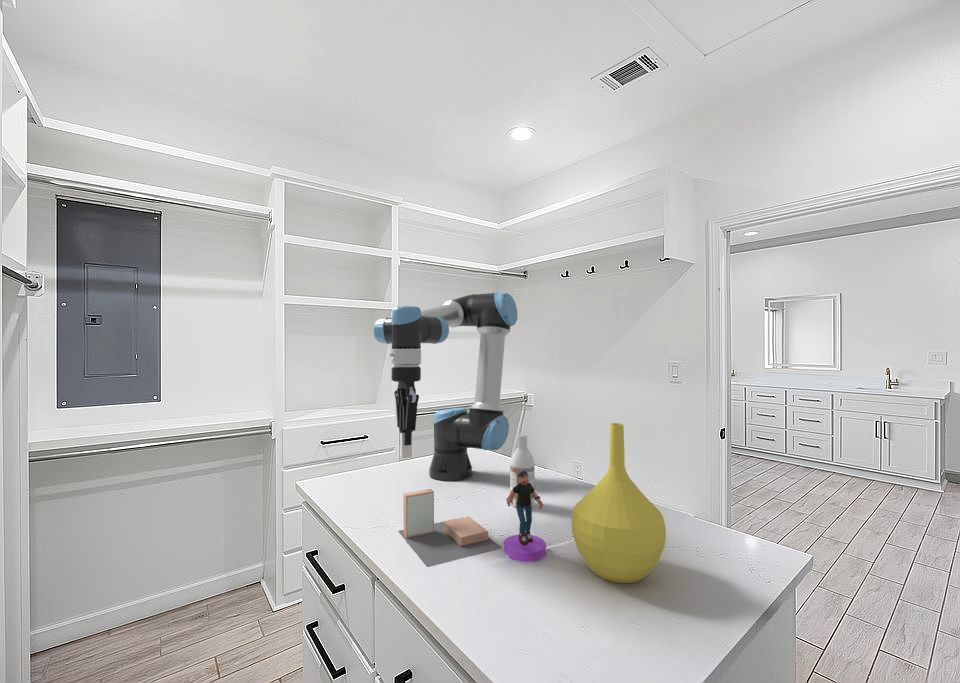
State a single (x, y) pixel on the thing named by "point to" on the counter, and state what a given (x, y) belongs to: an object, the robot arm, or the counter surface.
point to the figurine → (524, 524)
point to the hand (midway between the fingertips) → (406, 456)
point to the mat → (445, 546)
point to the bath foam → (522, 466)
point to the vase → (618, 523)
